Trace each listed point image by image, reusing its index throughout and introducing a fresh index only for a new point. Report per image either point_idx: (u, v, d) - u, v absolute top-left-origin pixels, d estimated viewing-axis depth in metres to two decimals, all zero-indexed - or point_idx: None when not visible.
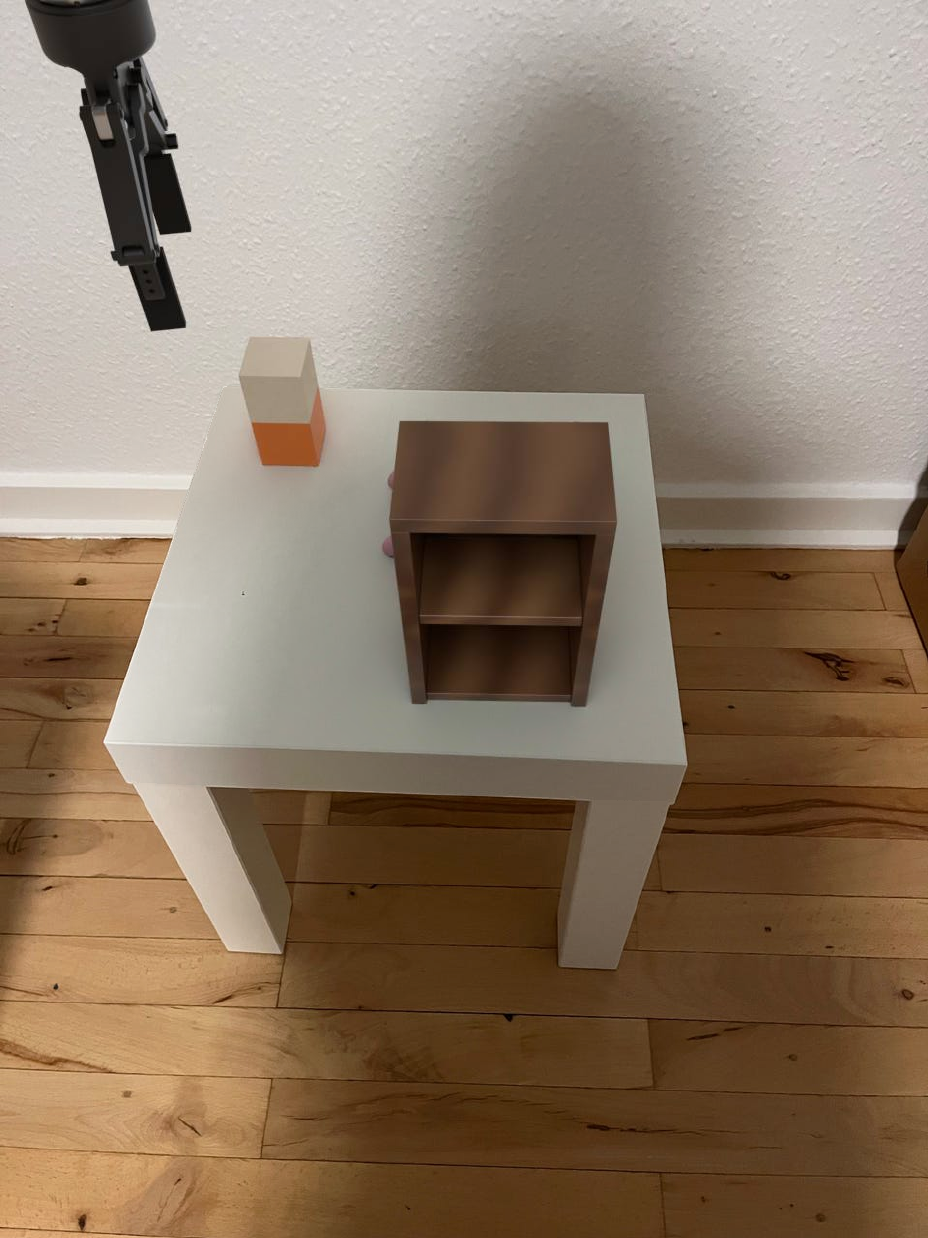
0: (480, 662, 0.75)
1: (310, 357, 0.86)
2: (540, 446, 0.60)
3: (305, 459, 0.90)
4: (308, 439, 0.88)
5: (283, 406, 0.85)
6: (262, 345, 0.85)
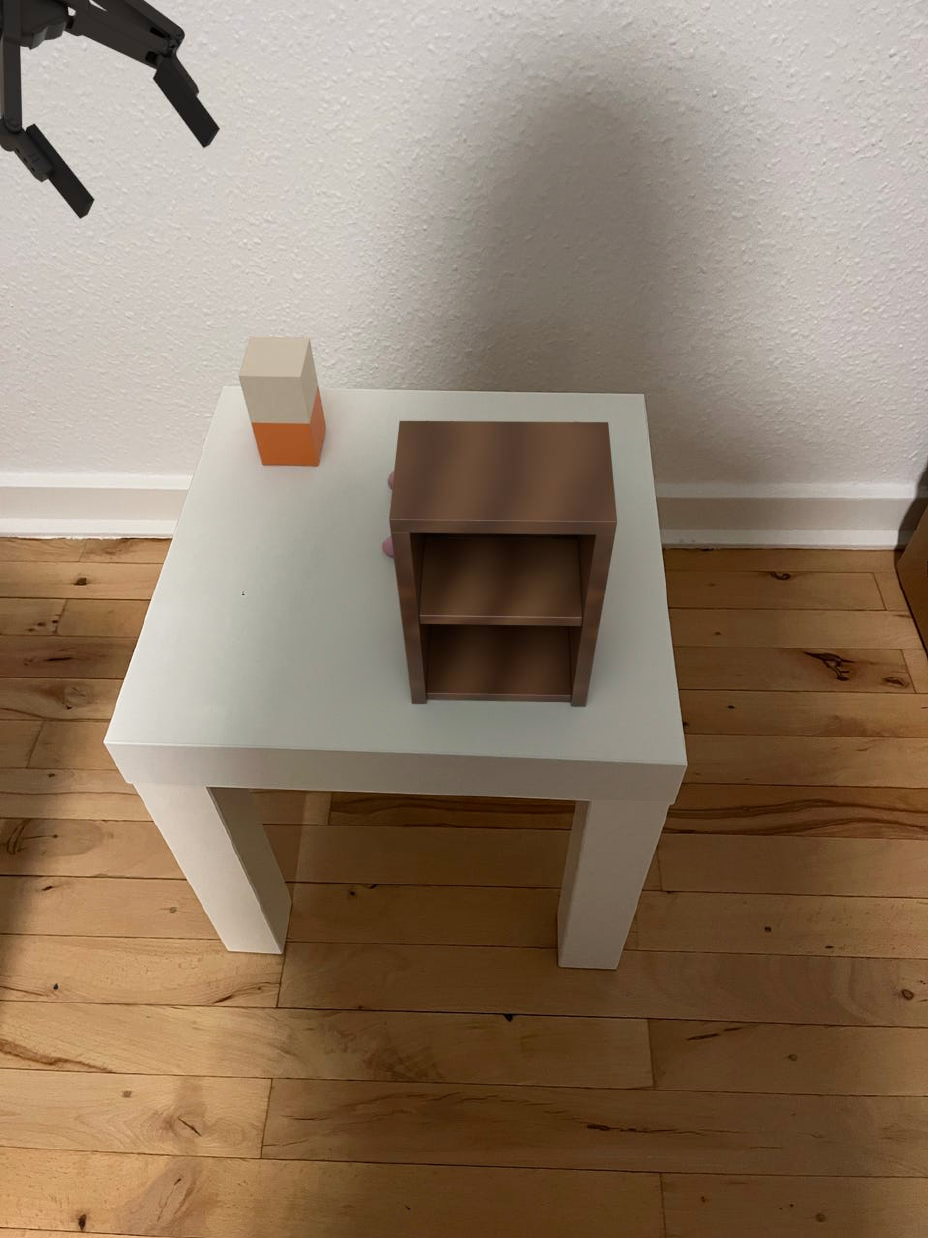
0: (480, 662, 0.75)
1: (310, 357, 0.86)
2: (540, 446, 0.60)
3: (305, 459, 0.90)
4: (308, 439, 0.88)
5: (283, 406, 0.85)
6: (262, 345, 0.85)
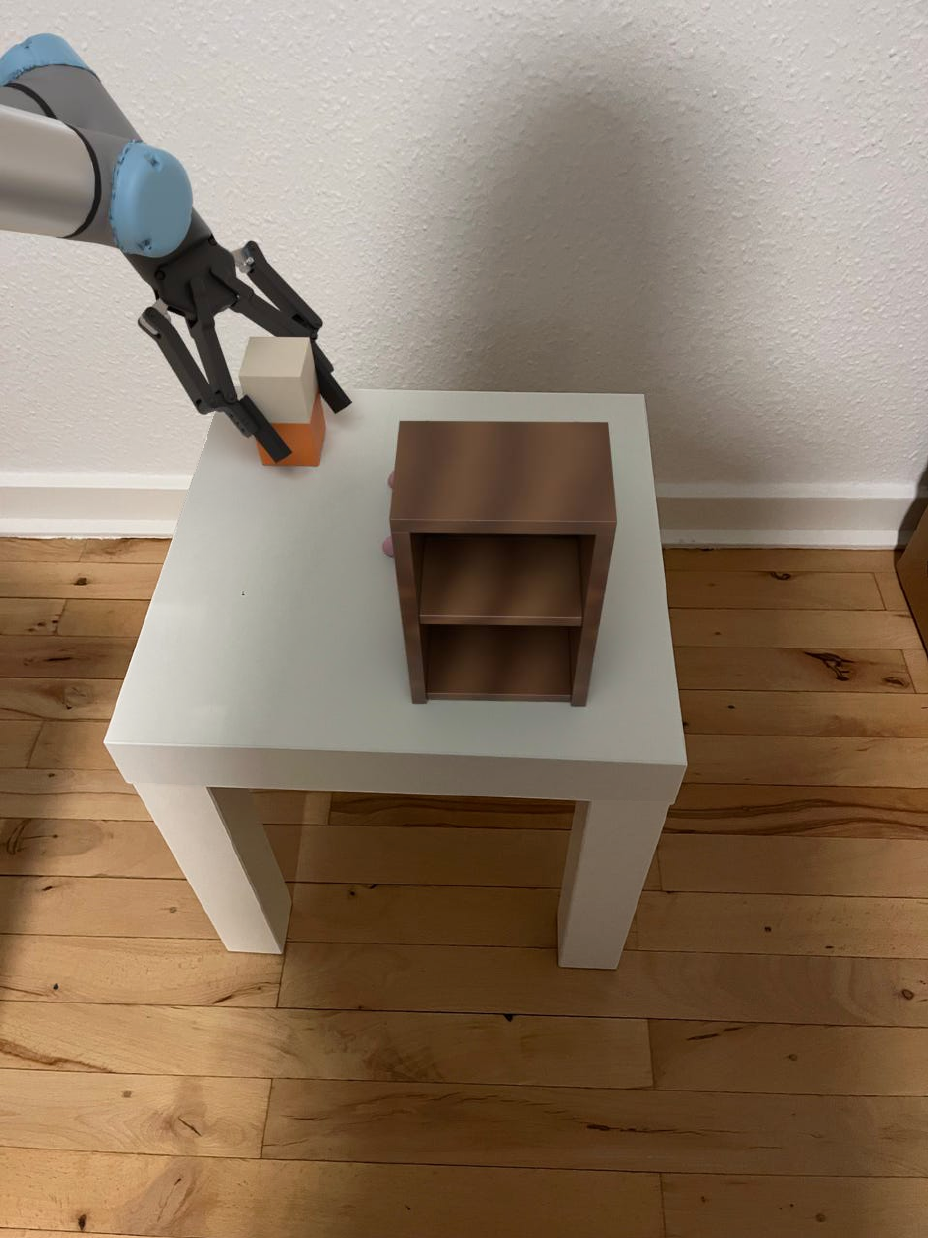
0: (480, 662, 0.75)
1: (310, 357, 0.86)
2: (540, 446, 0.60)
3: (305, 459, 0.90)
4: (308, 439, 0.88)
5: (283, 406, 0.85)
6: (262, 345, 0.85)
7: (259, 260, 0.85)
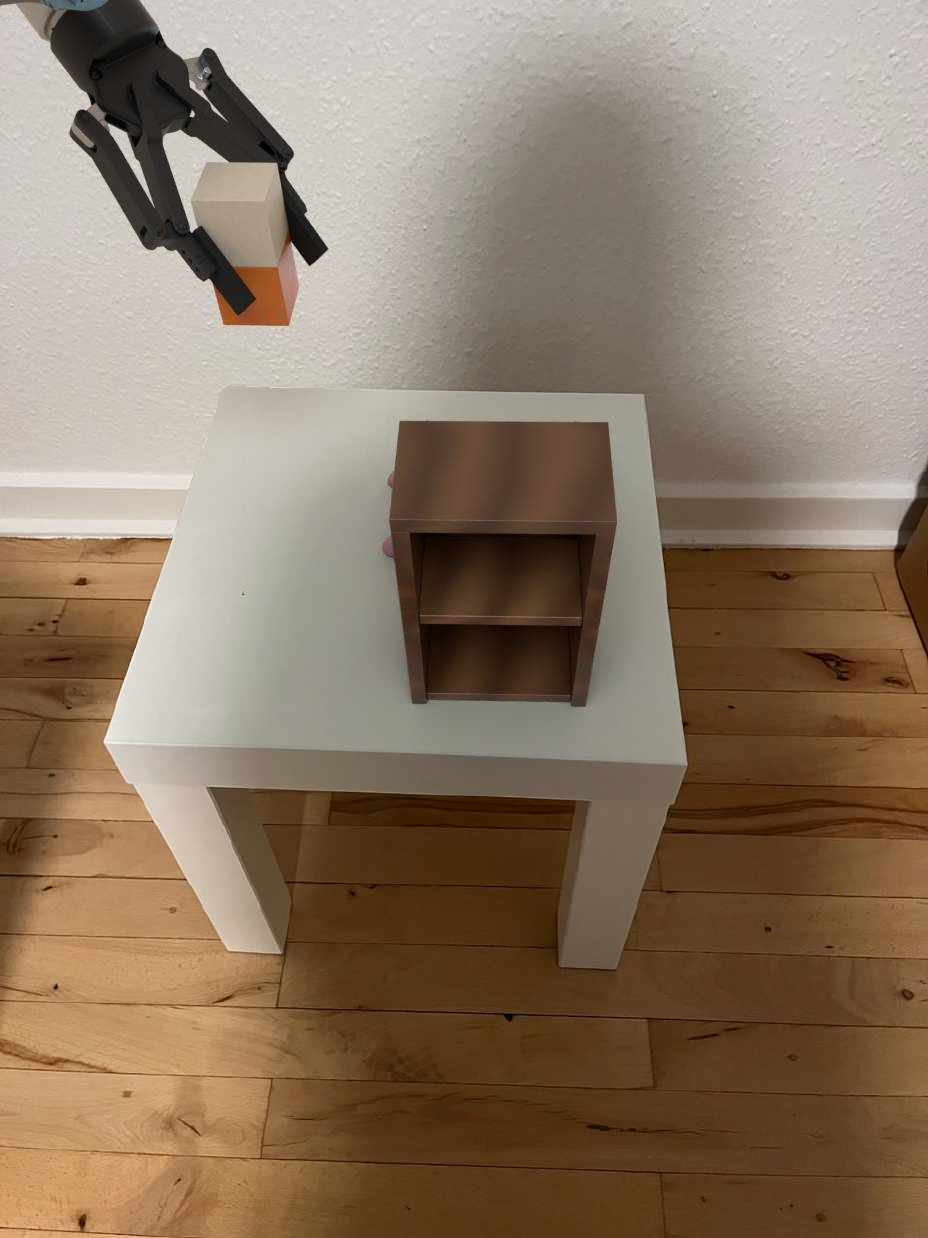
0: (480, 662, 0.75)
1: (278, 187, 0.72)
2: (540, 446, 0.60)
3: (273, 317, 0.77)
4: (276, 289, 0.75)
5: (245, 243, 0.71)
6: (221, 170, 0.71)
7: (218, 71, 0.72)
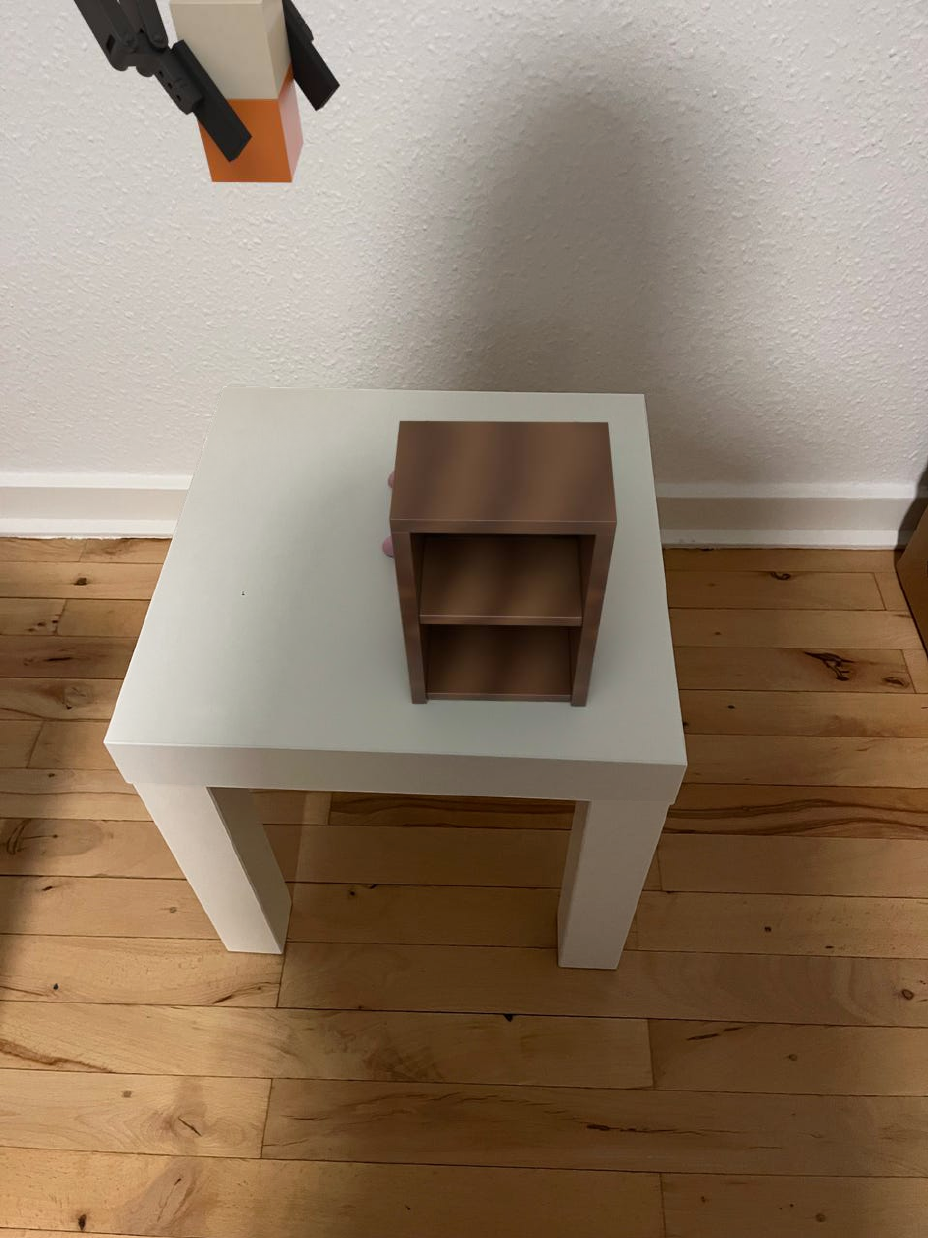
0: (480, 662, 0.75)
1: None
2: (540, 446, 0.60)
3: (272, 170, 0.63)
4: (276, 130, 0.61)
5: (237, 64, 0.58)
6: None
7: None
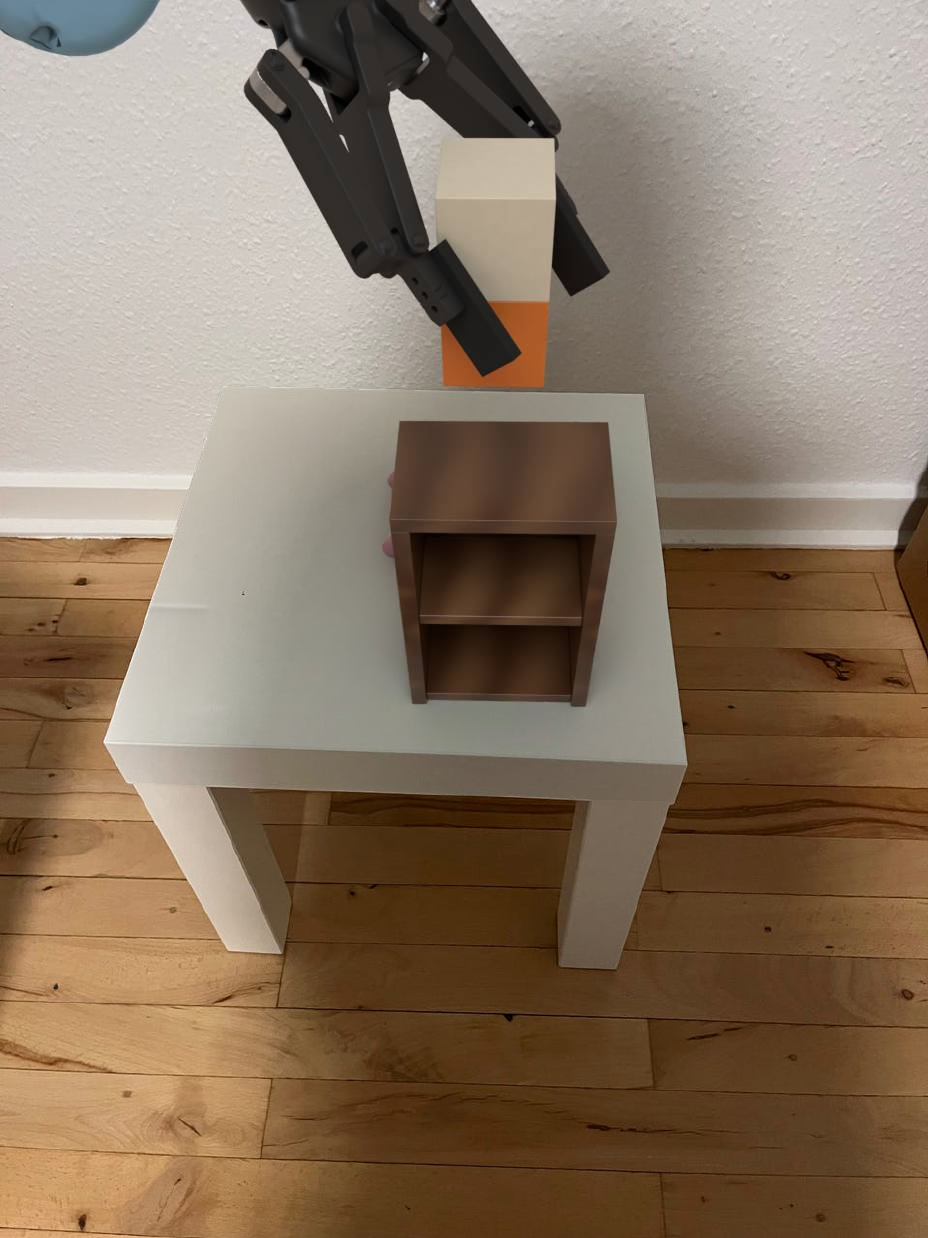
0: (480, 662, 0.75)
1: None
2: (540, 446, 0.60)
3: (522, 374, 0.51)
4: (538, 334, 0.48)
5: (507, 265, 0.45)
6: (469, 150, 0.45)
7: None
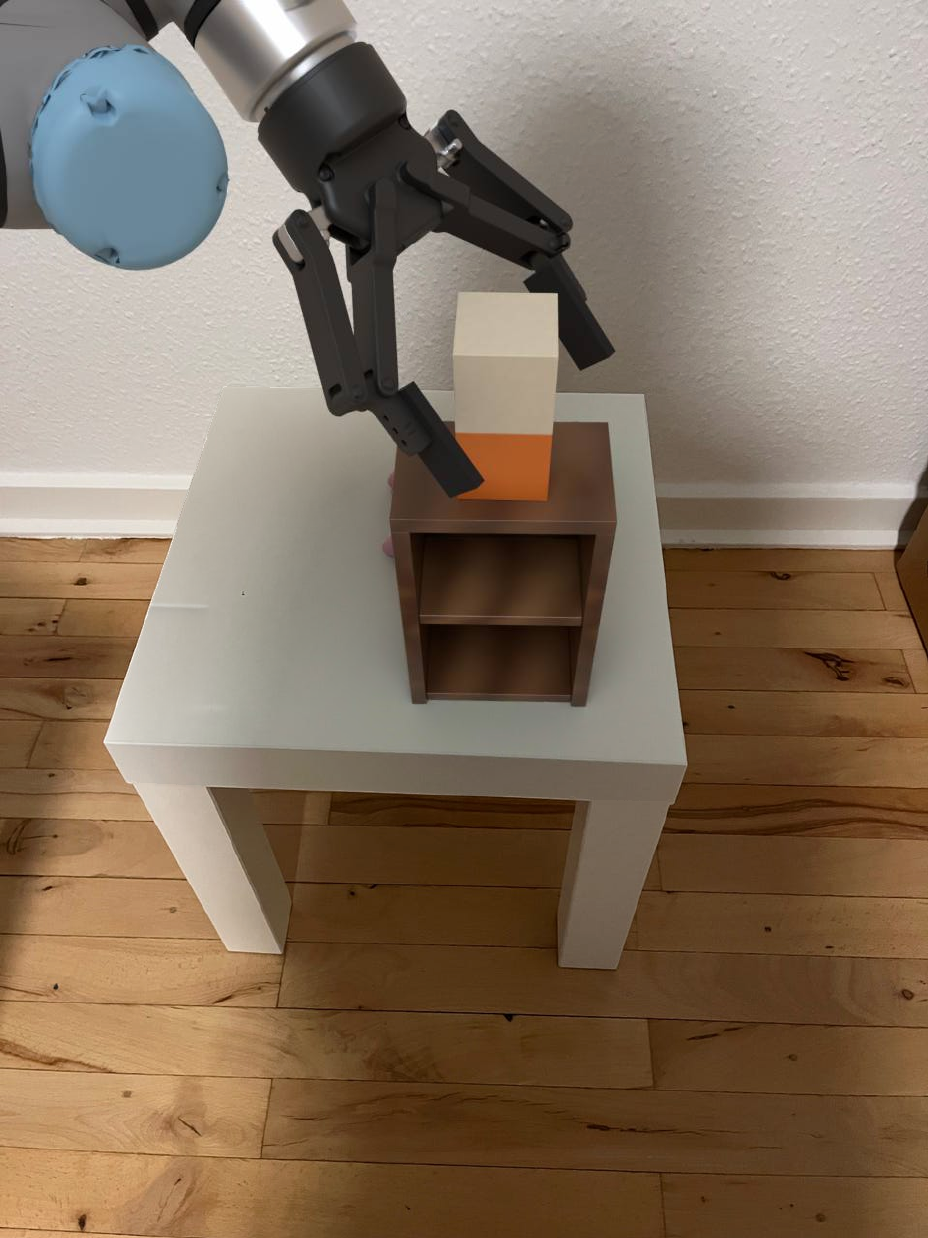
0: (480, 662, 0.75)
1: None
2: None
3: (528, 491, 0.57)
4: (542, 459, 0.55)
5: (515, 406, 0.51)
6: (483, 305, 0.51)
7: (469, 140, 0.52)
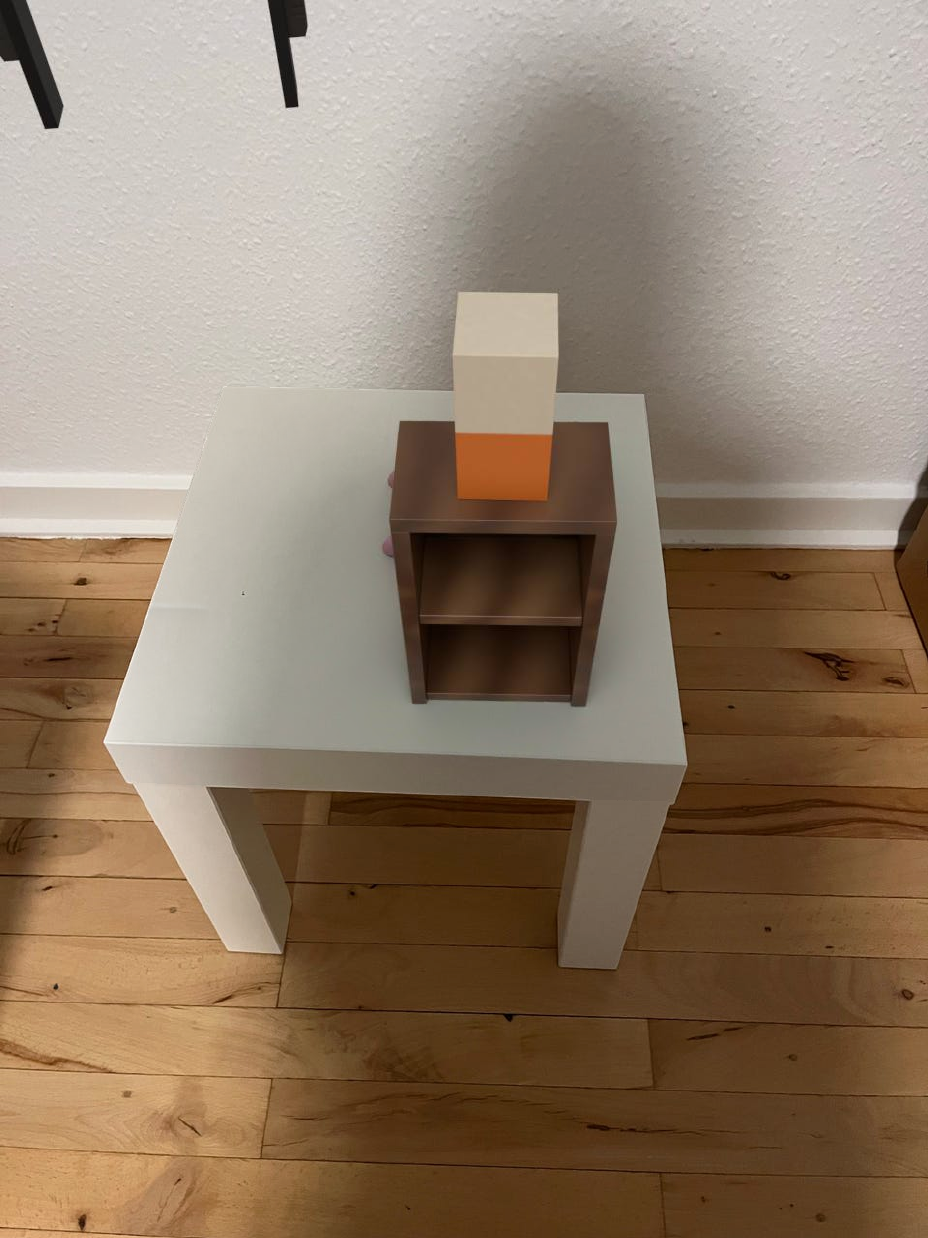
0: (480, 662, 0.75)
1: None
2: None
3: (528, 491, 0.57)
4: (542, 459, 0.55)
5: (515, 406, 0.51)
6: (483, 305, 0.51)
7: None
